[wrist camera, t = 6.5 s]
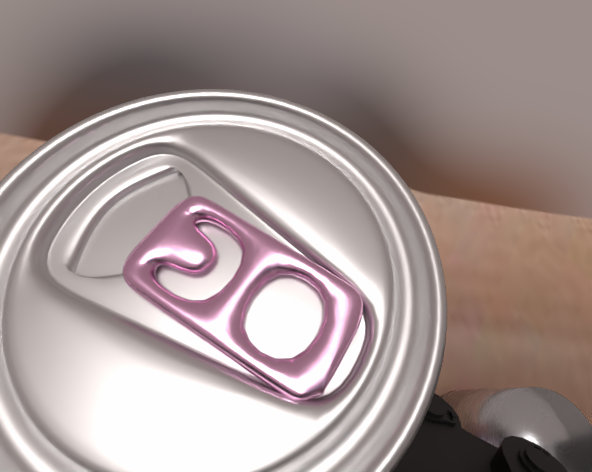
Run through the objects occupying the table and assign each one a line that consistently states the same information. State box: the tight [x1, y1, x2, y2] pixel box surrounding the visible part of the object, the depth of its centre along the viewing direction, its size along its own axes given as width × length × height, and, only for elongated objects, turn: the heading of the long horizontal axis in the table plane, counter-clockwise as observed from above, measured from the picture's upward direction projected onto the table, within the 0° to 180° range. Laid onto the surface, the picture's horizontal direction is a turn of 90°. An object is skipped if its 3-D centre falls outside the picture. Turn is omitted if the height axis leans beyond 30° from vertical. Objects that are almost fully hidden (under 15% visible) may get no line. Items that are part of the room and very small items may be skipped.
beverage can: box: [0, 89, 447, 472], centre depth 11 cm, size 6×6×15 cm
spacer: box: [441, 387, 592, 472], centre depth 16 cm, size 4×4×6 cm
